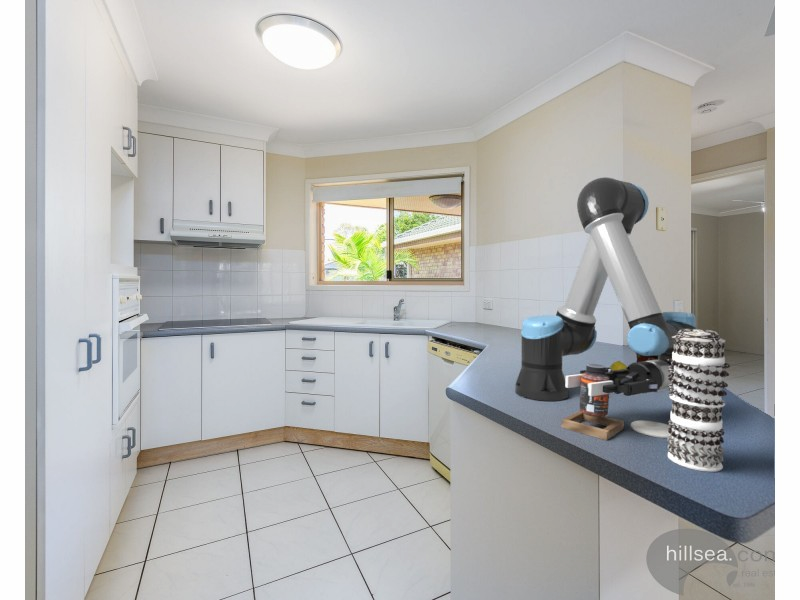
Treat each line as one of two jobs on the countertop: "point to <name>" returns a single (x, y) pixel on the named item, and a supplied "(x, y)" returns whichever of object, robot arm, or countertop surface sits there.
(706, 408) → the decorative candle
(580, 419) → the holder
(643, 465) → the countertop surface
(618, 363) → the lemon
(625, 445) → the countertop surface
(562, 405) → the countertop surface
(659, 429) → the white domed disc
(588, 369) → the supplement bottle
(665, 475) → the countertop surface
